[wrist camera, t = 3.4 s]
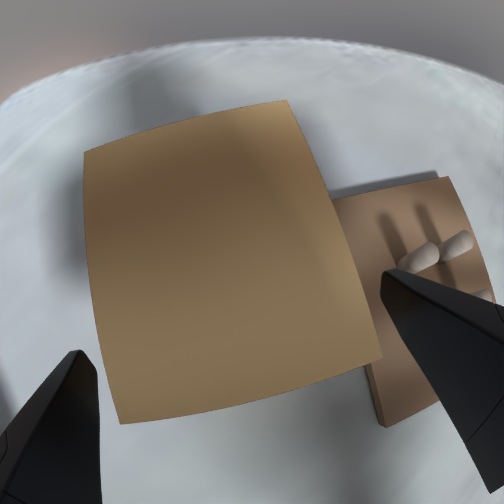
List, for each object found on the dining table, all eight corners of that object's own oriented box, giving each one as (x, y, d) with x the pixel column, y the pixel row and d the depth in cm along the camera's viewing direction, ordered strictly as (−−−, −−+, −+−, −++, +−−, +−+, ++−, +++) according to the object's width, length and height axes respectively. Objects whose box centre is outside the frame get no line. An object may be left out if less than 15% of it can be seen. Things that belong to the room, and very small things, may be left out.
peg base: (498, 354, 16) (535, 351, 12) (379, 424, 15) (410, 441, 11) (441, 182, 20) (469, 155, 16) (315, 209, 19) (331, 178, 15)
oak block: (292, 348, 17) (382, 357, 5) (205, 370, 16) (120, 424, 5) (263, 248, 18) (286, 99, 7) (181, 269, 18) (84, 152, 6)
